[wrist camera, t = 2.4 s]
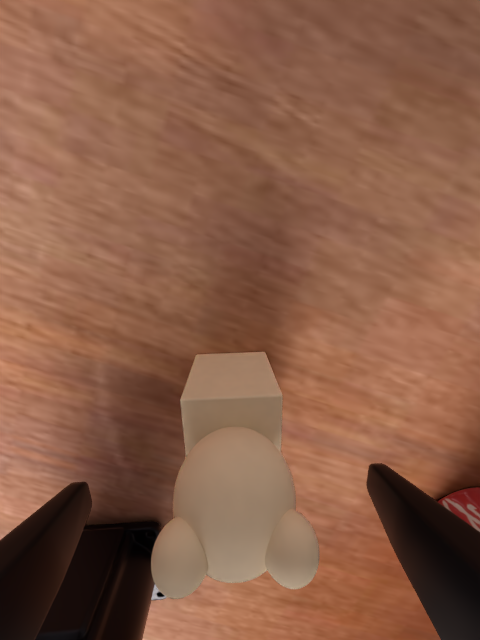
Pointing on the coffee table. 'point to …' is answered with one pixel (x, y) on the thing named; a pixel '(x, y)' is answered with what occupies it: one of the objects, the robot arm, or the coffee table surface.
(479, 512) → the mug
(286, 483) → the bear
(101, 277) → the coffee table surface
